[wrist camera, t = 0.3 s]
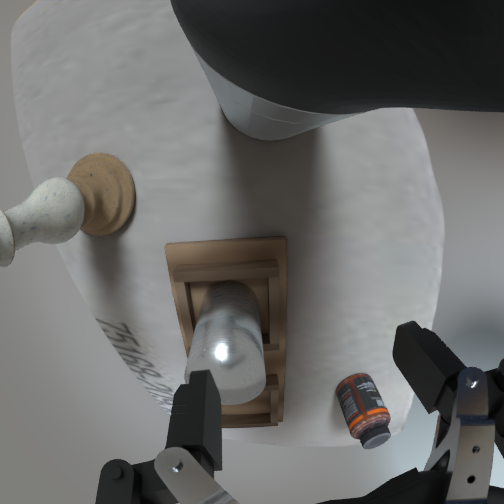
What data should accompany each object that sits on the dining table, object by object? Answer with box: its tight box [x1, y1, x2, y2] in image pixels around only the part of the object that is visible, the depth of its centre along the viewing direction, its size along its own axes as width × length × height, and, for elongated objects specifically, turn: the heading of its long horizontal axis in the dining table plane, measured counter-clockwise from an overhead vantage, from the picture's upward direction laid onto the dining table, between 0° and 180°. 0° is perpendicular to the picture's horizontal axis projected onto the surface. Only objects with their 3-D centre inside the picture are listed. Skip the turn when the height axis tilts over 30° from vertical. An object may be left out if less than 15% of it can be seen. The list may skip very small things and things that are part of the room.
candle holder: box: [0, 153, 135, 267], centre depth 15 cm, size 9×9×20 cm
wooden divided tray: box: [165, 236, 287, 428], centre depth 31 cm, size 30×12×3 cm, turn 3°
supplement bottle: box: [336, 373, 391, 449], centre depth 30 cm, size 6×6×11 cm
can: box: [185, 280, 266, 405], centre depth 23 cm, size 6×6×11 cm
